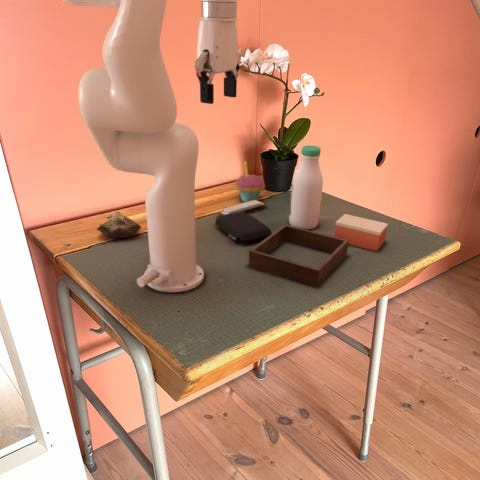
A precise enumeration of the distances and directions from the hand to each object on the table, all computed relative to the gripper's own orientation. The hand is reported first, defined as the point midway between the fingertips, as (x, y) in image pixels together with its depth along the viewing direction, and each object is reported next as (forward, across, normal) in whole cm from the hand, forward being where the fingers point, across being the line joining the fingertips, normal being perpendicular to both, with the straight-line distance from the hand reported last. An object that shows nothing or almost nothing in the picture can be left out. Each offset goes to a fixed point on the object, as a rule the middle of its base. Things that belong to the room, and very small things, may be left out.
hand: (218, 99), depth 114 cm
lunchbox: (+30, -10, +35) cm, 47 cm away
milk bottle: (+31, -12, +19) cm, 38 cm away
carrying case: (+31, +2, +8) cm, 32 cm away
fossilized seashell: (+31, +20, -16) cm, 40 cm away
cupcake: (+31, -20, -2) cm, 37 cm away
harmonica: (+31, -10, +1) cm, 32 cm away
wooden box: (+30, +8, +27) cm, 41 cm away
